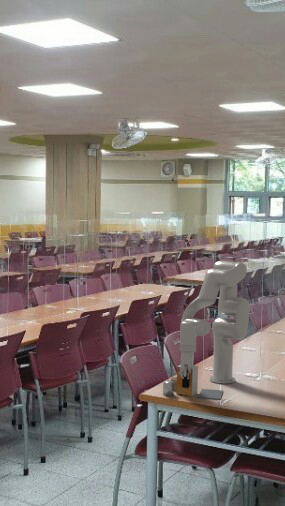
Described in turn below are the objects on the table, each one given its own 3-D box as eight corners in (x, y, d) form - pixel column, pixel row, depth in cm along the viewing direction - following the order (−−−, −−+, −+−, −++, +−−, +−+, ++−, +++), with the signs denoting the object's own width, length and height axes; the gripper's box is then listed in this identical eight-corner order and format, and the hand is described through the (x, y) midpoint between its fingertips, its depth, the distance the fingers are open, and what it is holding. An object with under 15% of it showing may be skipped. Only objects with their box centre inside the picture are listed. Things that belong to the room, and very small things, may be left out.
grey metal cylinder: (163, 392, 301) (164, 380, 300) (174, 393, 300) (174, 380, 299) (162, 395, 296) (162, 382, 295) (172, 396, 295) (173, 383, 294)
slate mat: (201, 390, 307) (201, 388, 307) (223, 391, 305) (223, 390, 304) (198, 398, 293) (198, 396, 293) (220, 399, 291) (220, 398, 291)
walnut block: (172, 387, 311) (172, 376, 311) (182, 387, 310) (182, 377, 310) (170, 389, 306) (170, 379, 306) (180, 390, 305) (181, 380, 305)
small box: (176, 394, 299) (176, 366, 298) (181, 390, 305) (182, 363, 304) (192, 396, 295) (192, 368, 294) (197, 393, 301) (198, 365, 300)
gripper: (182, 343, 308) (181, 379, 309) (176, 351, 291) (176, 389, 292) (198, 344, 306) (197, 380, 307) (193, 352, 289) (192, 390, 291)
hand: (187, 384), depth 300 cm, fingers open, 8 cm apart
